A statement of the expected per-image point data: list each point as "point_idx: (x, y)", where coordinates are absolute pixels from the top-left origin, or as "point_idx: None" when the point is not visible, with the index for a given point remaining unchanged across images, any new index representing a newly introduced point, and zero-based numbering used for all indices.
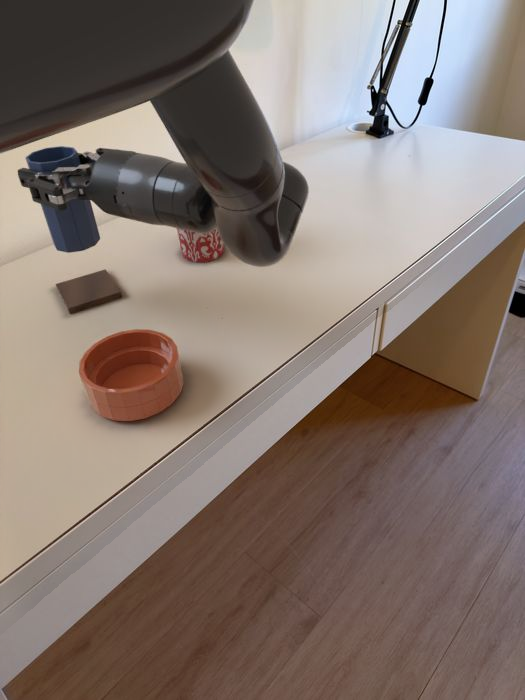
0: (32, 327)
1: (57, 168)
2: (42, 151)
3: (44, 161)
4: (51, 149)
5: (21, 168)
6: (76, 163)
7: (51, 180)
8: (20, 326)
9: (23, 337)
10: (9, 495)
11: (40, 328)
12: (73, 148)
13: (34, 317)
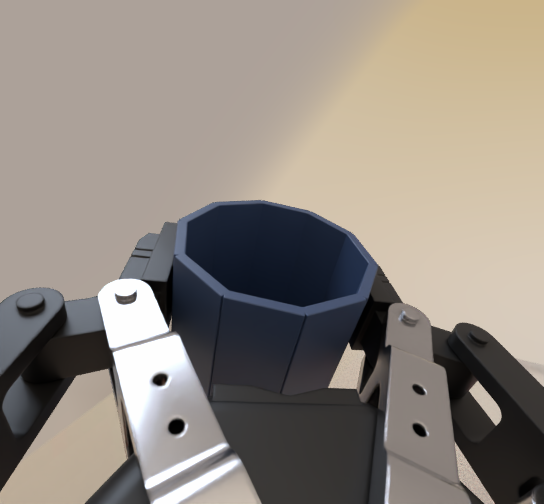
0: (87, 466)
1: (161, 342)
2: (290, 214)
3: (280, 240)
4: (318, 223)
5: (176, 224)
6: (323, 340)
7: (185, 329)
8: (88, 439)
9: (47, 478)
10: None
11: (86, 486)
12: (373, 269)
13: (122, 440)
